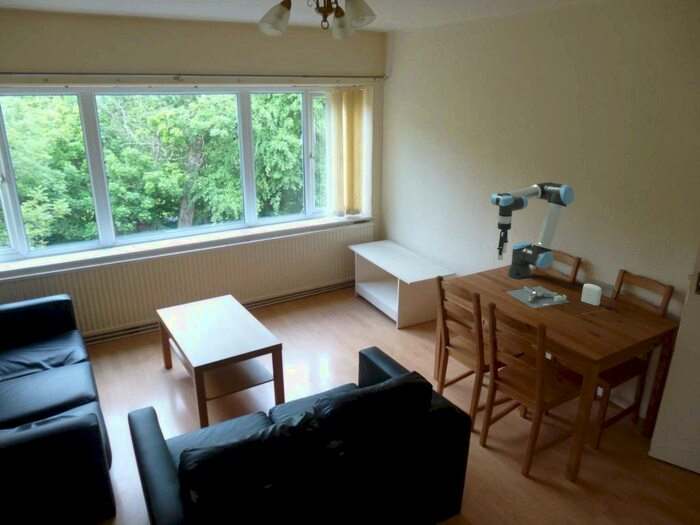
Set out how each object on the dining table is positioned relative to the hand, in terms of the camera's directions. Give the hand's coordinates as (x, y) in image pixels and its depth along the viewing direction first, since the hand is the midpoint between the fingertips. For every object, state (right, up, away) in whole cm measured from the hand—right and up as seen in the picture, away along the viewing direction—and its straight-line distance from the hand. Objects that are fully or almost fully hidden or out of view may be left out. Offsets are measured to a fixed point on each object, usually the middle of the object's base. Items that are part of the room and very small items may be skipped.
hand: (501, 256), depth 301 cm
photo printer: (+49, -28, -9) cm, 57 cm away
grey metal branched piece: (+20, -23, +1) cm, 30 cm away
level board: (+21, -25, -1) cm, 33 cm away
